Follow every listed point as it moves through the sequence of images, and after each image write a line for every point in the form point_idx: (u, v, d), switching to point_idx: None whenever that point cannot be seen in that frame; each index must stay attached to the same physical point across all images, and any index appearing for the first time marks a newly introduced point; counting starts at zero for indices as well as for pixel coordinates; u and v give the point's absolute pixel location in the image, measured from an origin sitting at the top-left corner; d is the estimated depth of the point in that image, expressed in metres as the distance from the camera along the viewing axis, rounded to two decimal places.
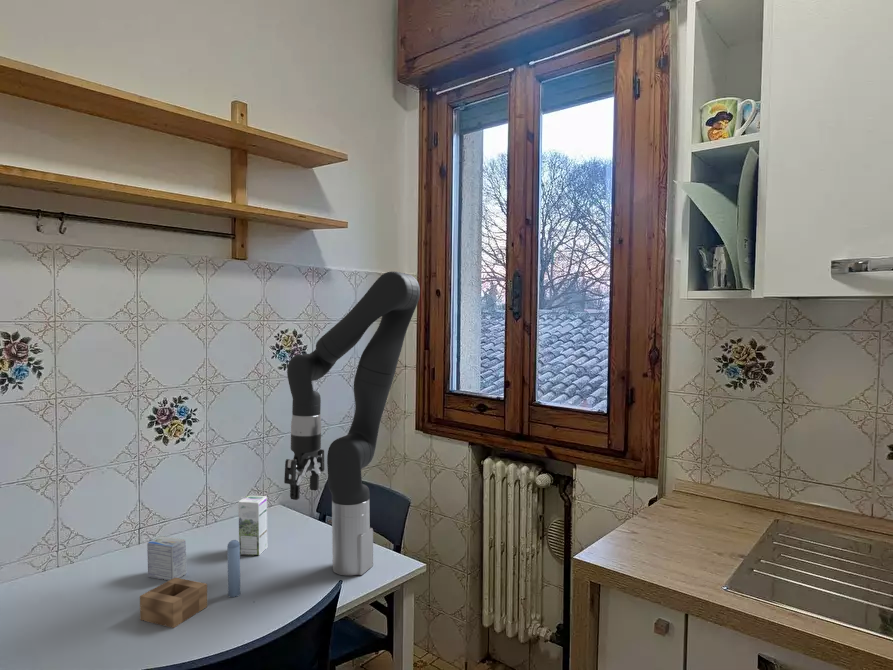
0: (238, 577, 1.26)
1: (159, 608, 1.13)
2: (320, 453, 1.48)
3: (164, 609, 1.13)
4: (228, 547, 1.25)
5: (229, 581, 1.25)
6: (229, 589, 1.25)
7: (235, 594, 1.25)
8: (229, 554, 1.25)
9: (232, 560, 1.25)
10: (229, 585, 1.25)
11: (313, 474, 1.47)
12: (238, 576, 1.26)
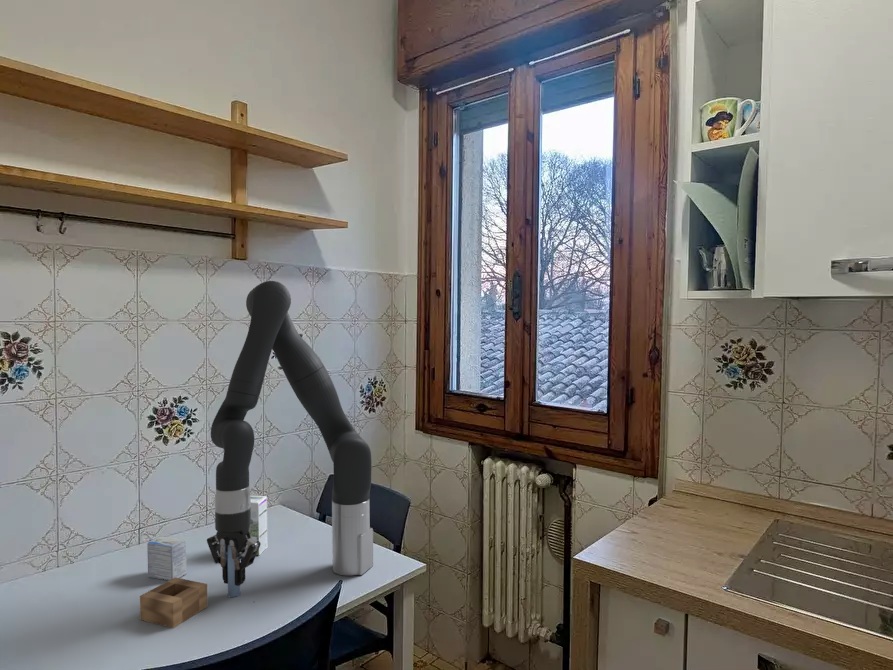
0: None
1: (159, 608, 1.13)
2: None
3: (164, 609, 1.13)
4: (228, 547, 1.25)
5: (229, 581, 1.25)
6: (229, 589, 1.25)
7: (235, 594, 1.25)
8: (229, 554, 1.25)
9: (232, 560, 1.25)
10: (229, 585, 1.25)
11: None
12: None
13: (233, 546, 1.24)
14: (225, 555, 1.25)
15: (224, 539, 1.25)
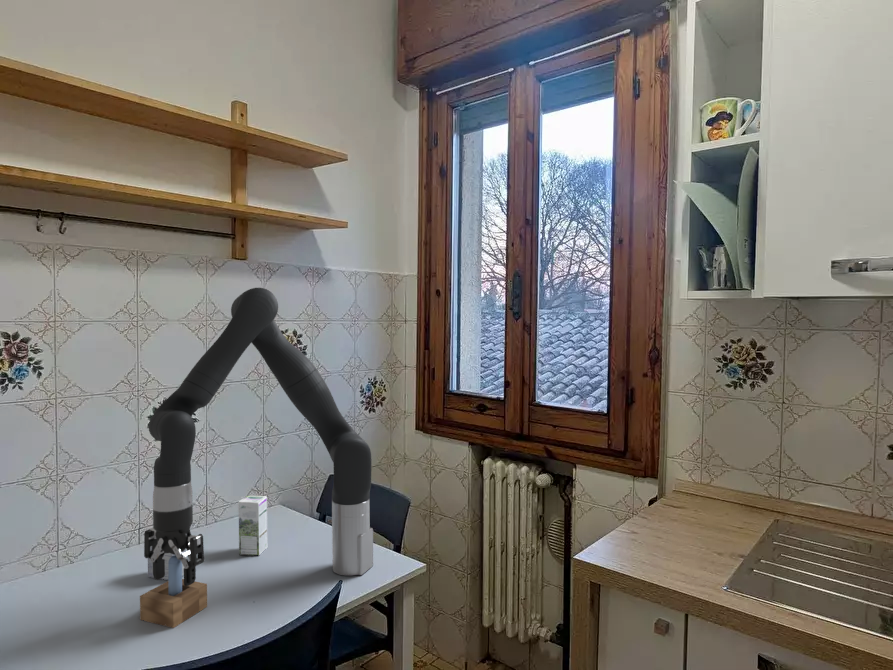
0: None
1: (159, 608, 1.13)
2: None
3: (164, 609, 1.13)
4: (169, 563, 1.17)
5: None
6: None
7: None
8: (170, 570, 1.16)
9: (173, 577, 1.16)
10: None
11: (159, 559, 1.19)
12: None
13: (173, 545, 1.15)
14: (158, 553, 1.17)
15: (163, 540, 1.16)
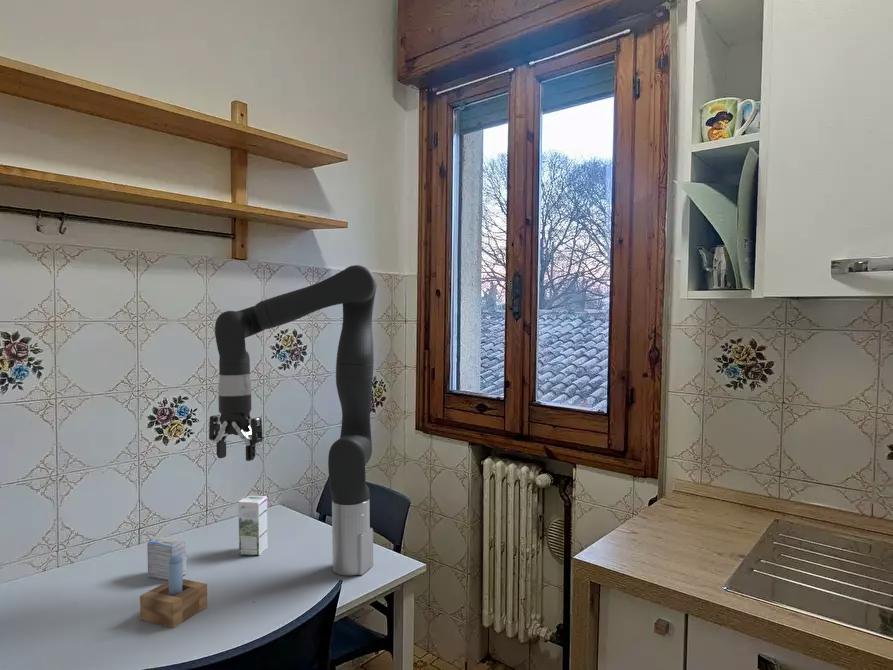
0: None
1: (159, 608, 1.13)
2: None
3: (164, 609, 1.13)
4: (169, 563, 1.17)
5: None
6: None
7: None
8: (170, 571, 1.16)
9: (173, 577, 1.16)
10: None
11: (221, 441, 1.38)
12: None
13: (236, 426, 1.34)
14: (222, 435, 1.36)
15: (227, 422, 1.35)
